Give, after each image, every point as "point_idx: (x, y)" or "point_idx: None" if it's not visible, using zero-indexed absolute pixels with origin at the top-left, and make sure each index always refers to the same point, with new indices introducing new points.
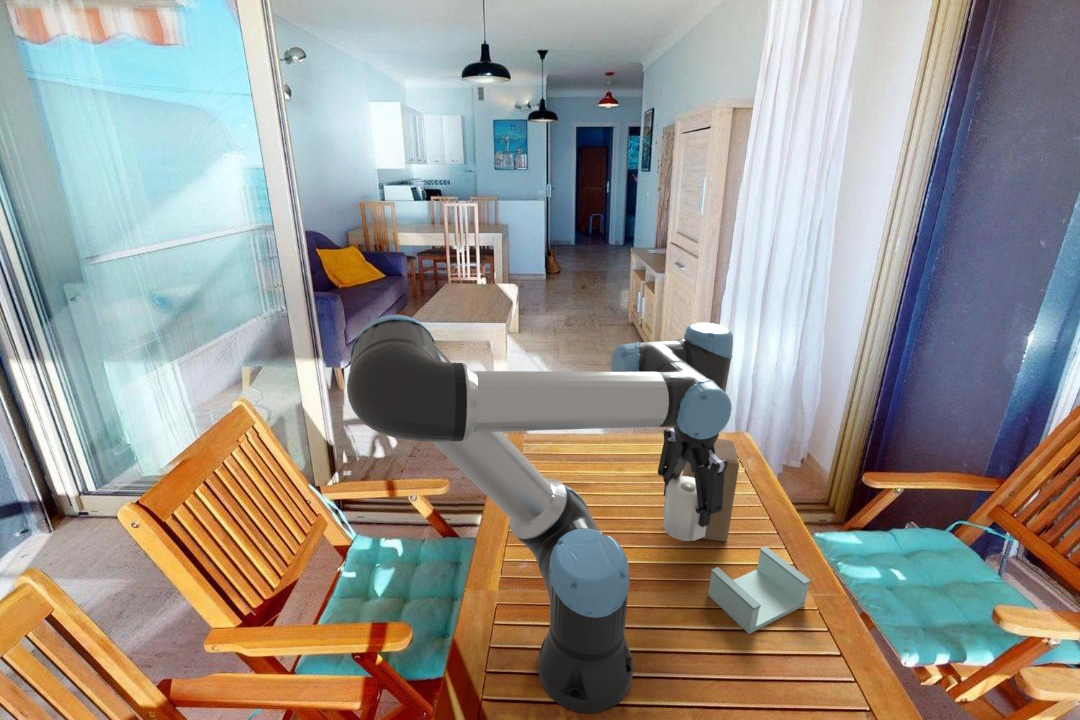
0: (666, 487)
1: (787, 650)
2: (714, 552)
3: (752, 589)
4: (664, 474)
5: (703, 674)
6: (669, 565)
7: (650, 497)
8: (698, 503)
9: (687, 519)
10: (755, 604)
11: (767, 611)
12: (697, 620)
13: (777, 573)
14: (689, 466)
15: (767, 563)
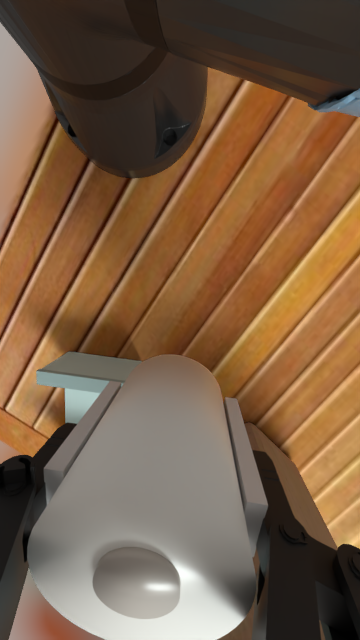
0: (262, 493)
1: (32, 368)
2: None
3: None
4: (327, 573)
5: (49, 253)
6: (215, 360)
7: (351, 453)
8: (23, 509)
9: (106, 413)
10: (41, 378)
11: (75, 396)
12: (116, 314)
13: None
14: (320, 625)
15: None
